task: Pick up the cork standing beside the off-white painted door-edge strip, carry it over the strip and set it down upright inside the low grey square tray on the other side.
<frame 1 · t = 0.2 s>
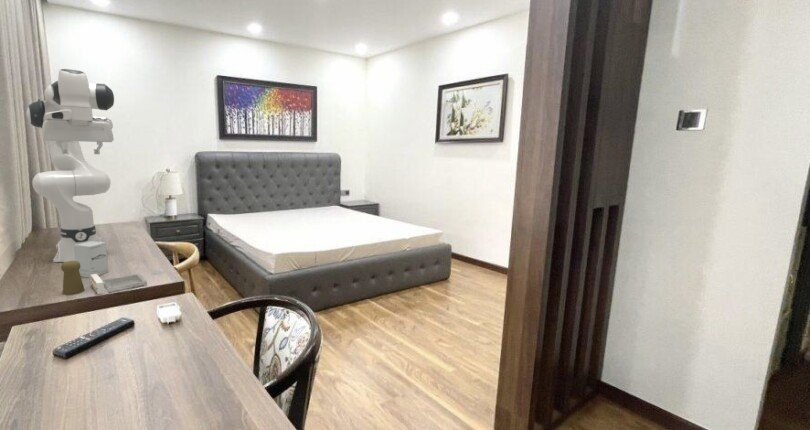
hand: (81, 154, 146), 47 cm above the table, fingers open, 8 cm apart
supplement box: (93, 274, 157), on the table
grey square tray: (125, 284, 147), on the table
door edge: (97, 288, 142), on the table
cork: (73, 292, 139), on the table
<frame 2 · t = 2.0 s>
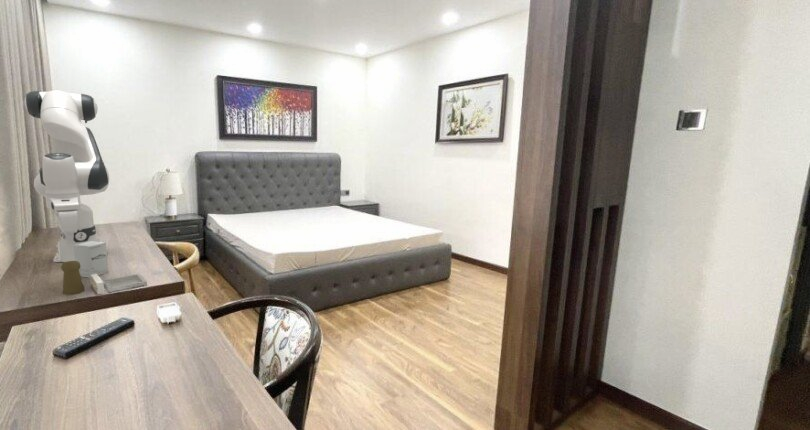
hand: (68, 241, 136), 18 cm above the table, fingers open, 8 cm apart
nothing on the table moved.
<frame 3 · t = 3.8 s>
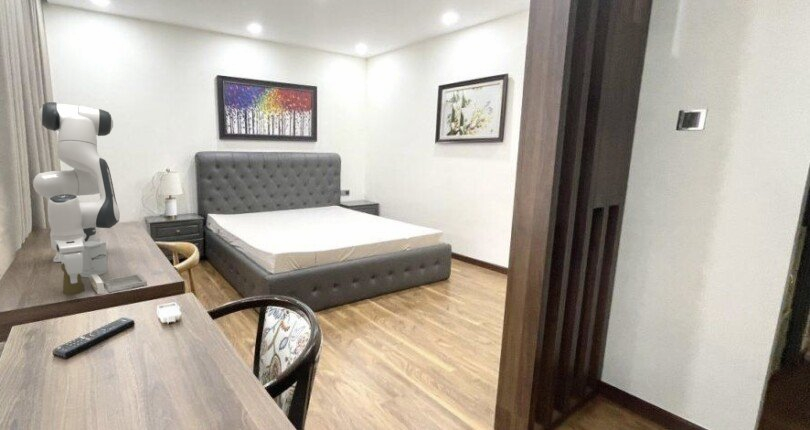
hand: (72, 280, 138), 4 cm above the table, fingers closed on cork, 5 cm apart
cork: (73, 292, 139), on the table, touching gripper
everything else where it was.
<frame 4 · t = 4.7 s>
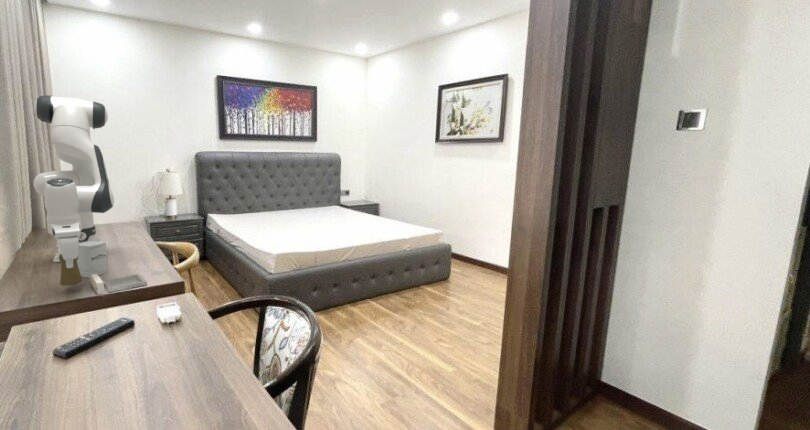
hand: (68, 265, 137), 10 cm above the table, fingers closed on cork, 4 cm apart
cork: (71, 282, 139), point 3 cm above the table, touching gripper
everything else where it was.
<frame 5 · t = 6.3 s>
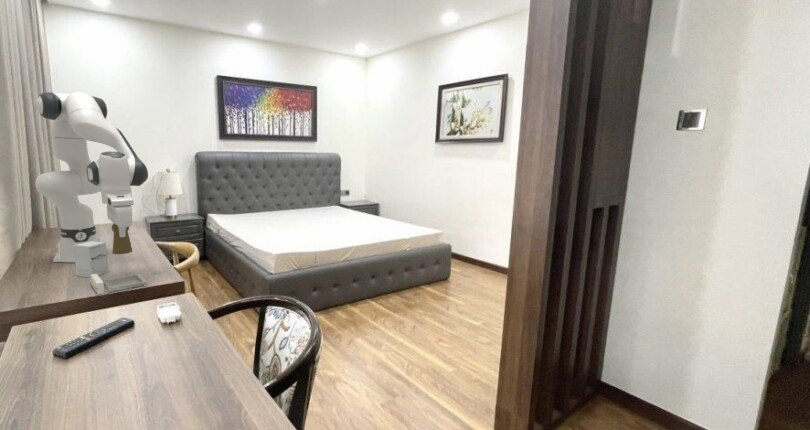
hand: (120, 235, 144), 19 cm above the table, fingers closed on cork, 4 cm apart
cork: (122, 252, 145), point 12 cm above the table, touching gripper
everything else where it was.
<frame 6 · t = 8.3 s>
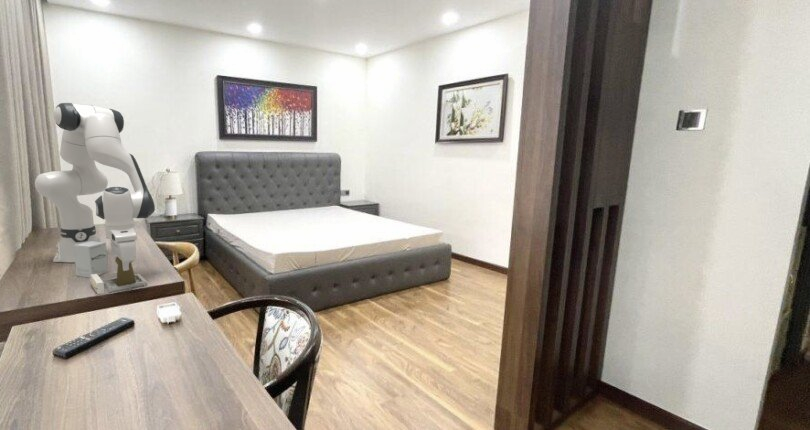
hand: (124, 268, 146), 6 cm above the table, fingers closed on cork, 4 cm apart
cork: (126, 283, 148), resting on grey square tray, touching gripper
everything else where it was.
when the fingers open (6 cm above the table, at t = 8.5 s): cork stays where it is, resting on grey square tray.
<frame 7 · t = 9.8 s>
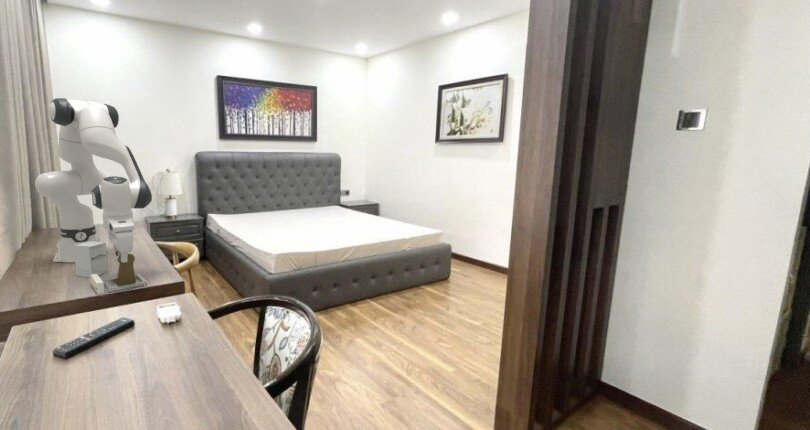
hand: (121, 258, 145), 10 cm above the table, fingers open, 8 cm apart
cork: (126, 283, 147), resting on grey square tray
everything else where it was.
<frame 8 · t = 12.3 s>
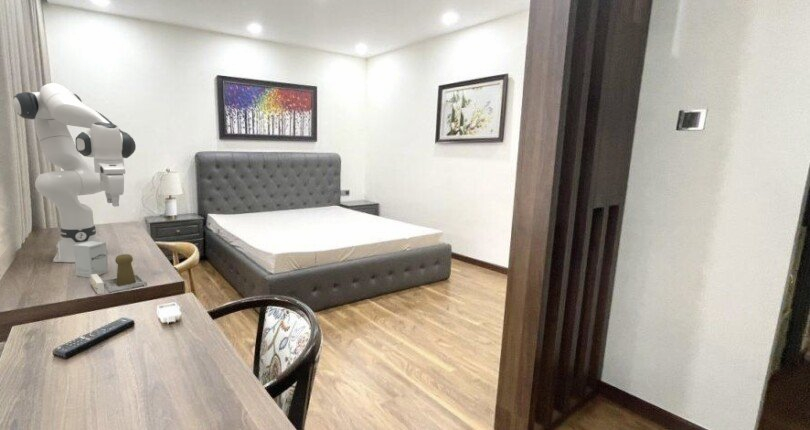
hand: (113, 204, 148), 29 cm above the table, fingers open, 8 cm apart
nothing on the table moved.
at the end: cork inside the target area on the grey square tray (0.4 cm from its centre), point 0.2 cm above the grey square tray's base; cork tilted 0°; the gripper is holding nothing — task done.
